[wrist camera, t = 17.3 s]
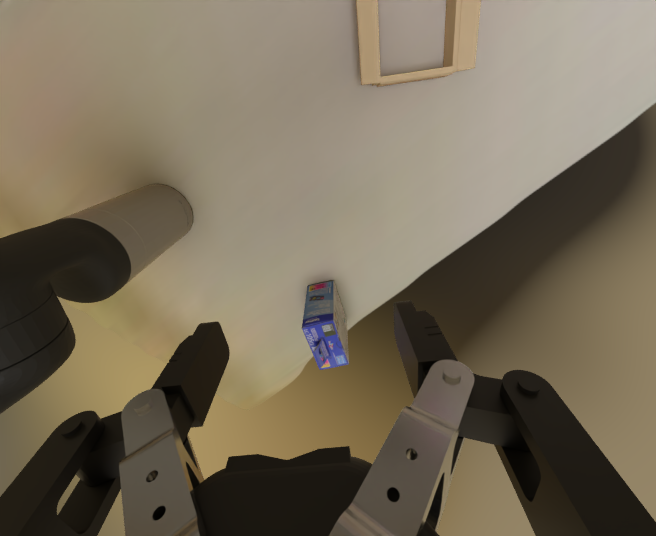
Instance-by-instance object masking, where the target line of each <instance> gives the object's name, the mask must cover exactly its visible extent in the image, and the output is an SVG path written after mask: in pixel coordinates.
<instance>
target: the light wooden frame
mask: <svg viewBox="0 0 656 536" xmlns="http://www.w3.org/2000/svg"><path fill="white" fill-rule="evenodd" d="M480 5H481V0H446V21H445V42H444V63H443V68H436V69H430V70H423V71H416V72H410V73H403V74H396V75H390V76H383V77H380V53H379V26H378V0H356V8H357V24H358V40H359V56H360V72H361V85H365V84H372V86H373V85H377V87H379V86H386V85H393V84H399V83H406V82H413V81H420V80H426V79H433V78H440V77H445V76H448V75H451V74H452V73H453V72H456V71H461V70H467V69H472V68H475V60H476V49H477V38H478V27H479V16H480Z"/></svg>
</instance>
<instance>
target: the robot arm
mask: <svg viewBox="0 0 656 536" xmlns="http://www.w3.org/2000/svg"><path fill="white" fill-rule="evenodd" d="M192 222H193V214H192V210H191V207H190V205H189V203H188V202H187V200H186V199H185V198H184V197H183V196H182V195H181V194H180V193H179V192H178V191H176V190H175V189H173V188H171V187H169V186H165V185H162V184H152V185H148V186H145V187H143V188H140V189H137V190H135V191H132V192H129V193H126V194H124V195H121V196H119V197H116V198H113V199H111V200H108V201H105V202H103V203H100V204H98V205H95V206H92V207H90V208H87V209H84V210H82V211H79V212H77V213H74V214H72V215H69V216H67V217H64V218H61V219H59V220H56V221H53V222H51V223H48V224H45V225H42V226H38V227H35V228H31V229H28V230H24V231H21V232H18V233H15V234H11V235H9V236H6V237H3V238H0V414H1V413H2V412H3V411H5V410H6V409H8V408H9V407H10V406H12V405H13V404H14V403H16V402H17V401H19V400H20V399H22V398H23V397H24V396H26V395H27V394H28V393H30V392H31V391H32V390H34V389H35V388H36V387H38V386H39V385H40V384H41V383H43V382H44V381H45V380H46V379H48V378H49V377H50V376H51V375H52V374H53V373H54V372H55V371H56V370H57V369H58V368H59V367H60V366H62V364H63V363H64V362H65V361H66V360H67V359H68V358H69V356H70V354H71V353H72V351H73V349H74V347H75V334H74V331H73V328H72V325H71V323H70V321H69V319H68V317H67V315H66V313H65V311H64V309H63V308H62V305H61V303H60V302H59V300H58V298H57V296H58V297H61V298H63V299H66V300H70V301H74V302H80V303H93V302H98V301H102V300H104V299H107V298H109V297H110V296H112V295H113V294H115V293H116V292H117V291H118V290H119V289H121V288H122V287H123V286H124V285H125V284H126V283H128V282H129V281H130V280H131V279H132V278H134V277H135V276H136V275H137V274H138V273H140V272H141V271H142V270H143V269H144V268H146V267H147V266H148V265H149V264H150V263H152V262H153V261H154V260H155V259H156V258H158V257H159V256H160V255H161V254H162V253H164V252H165V251H166V250H167V249H168V248H170V247H171V246H172V245H173V244H174V243H176V242H177V241H178V240H179V239H181V238H182V237H183V236H184V235H185V234H186V233H187V232H188V231H189V230H190V228H191V226H192ZM394 330H395V331H394V332H395V339H396V343H397V346H398V349H399V352H400V355H401V359H402V362H403V365H404V368H405V371H406V374H407V377H408V381H409V384H410V387H411V390H412V393H413V396H414V401H413V403H412V405H411V406H410V407H407V406H406V407H404V408H403V410H402V411H401V413H400V415H399V417H398V419H397V420H396V422H395V424H394V426H393V428H392V430H391V432H390V433H389V435H388V437H387V439H386V441H385V443H384V444H383V446H382V448H381V450H380V452H379V454H378V455H377V457H376V459H375V461H374V463H373V465H372V464H371V463H369V462H367V461H365V460H362V459H359V458H356V457H351V454H350V448H349V446H348V447H335V448H324V449H318V450H315V451H312V452H309V453H306V454H304V455H301V456H298V457H295V458H293V459H290V460H283V459H278V458H274V457H269V456H264V455H259V454H256V455H244V456H232V457H229V458H228V461H227V465H226V468H225V469H222V470H220V471H218V472H216V473H215V474H213V475H211V476H210V477H208V478H207V479H206V480H204V478H203V475H202V473H201V470H200V467H199V464H198V461H197V458H196V455H195V452H194V450H193V447H192V444H191V441H190V439H189V436H188V432H189V430H190V428H191V427H201V426H203V423H204V421H205V418H206V415H207V413H208V411H209V408H210V406H211V403H212V401H213V398H214V396H215V393H216V391H217V388H218V385H219V383H220V380H221V378H222V375H223V373H224V370H225V368H226V365H227V363H228V360H229V347H228V344H227V341H226V339H225V336H224V333H223V331H222V328H221V325H220V324H219V322H209V323H201V324H199V326H198V327H197V329H196V330H195V332H194V334H193V335H192V336H188V337H187V338H186V339H185V340H184V341H183V342H182V343H181V344H180V345H179V346H178V348H177V349H176V351H175V352H174V355H173V356H172V357H171V359H170V360H169V363H167V365H166V367H165V368H164V370H163V371H162V373H161V374H160V376H159V377H158V379H157V381H156V382H155V384H154V385H153V387H152V388H151V389H150V390H146V391H144V392H142V393H140V394H138V395H137V396H135V397H134V398H133V399H132V400H130V401H129V402H128V403H127V405H126V406H125V407H124V409H123V411H121V412H118V413H116V414H113V415H110V416H107V417H104V418H102V419H100V418H99V416H98V415H97V414H96V413H95V412H94V411H84V412H81V413H78V414H76V415H74V416H72V417H70V418H69V419H67V420H66V421H64V422H63V423H62V424H61V425H60V426H58V427H57V428H56V429H55V430H54V431H53V433H52V434H51V435H50V436H49V438H48V439H47V440H46V441H45V443H44V444H43V445H42V446H41V447H40V449H39V450H38V451H37V452H36V454H35V455H34V456H33V457H32V459H31V460H30V461H29V462H28V463H27V465H26V466H25V467H24V468H23V470H22V471H21V472H20V473H19V475H18V476H17V477H16V478H15V480H14V481H13V482H12V484H11V485H10V486H9V487H8V488H7V489H6V491H5V492H4V493H3V494H2V496H1V497H0V536H97V535H98V533H99V531H100V529H101V527H102V525H103V523H104V521H105V519H106V517H107V515H108V513H109V511H110V509H111V507H112V505H113V503H114V501H115V499H116V497H117V495H118V493H119V491H120V489H121V493H122V504H123V515H124V526H125V536H439V535H438V534H437V530H438V527H439V523H440V520H441V517H442V514H443V511H444V507H445V504H446V500H447V496H448V492H449V487H450V483H451V480H452V477H453V474H454V471H455V468H456V465H457V462H458V458H459V455H460V452H461V449H462V446H463V443H464V440H465V438H468V439H473V440H477V441H481V442H486V443H490V444H494V445H495V447H496V449H497V452H498V454H499V456H500V458H501V460H502V462H503V465H504V467H505V469H506V471H507V474H508V476H509V478H510V480H511V482H512V484H513V487H514V489H515V491H516V493H517V496H518V498H519V500H520V502H521V504H522V507H523V509H524V511H525V513H526V515H527V518H528V520H529V522H530V524H531V526H532V528H533V531H534V533H535V535H536V536H656V522H655V521H654V519H653V518H652V517H651V516H650V514H649V513H648V512H647V510H646V509H645V508H644V506H643V505H642V504H641V502H640V501H639V500H638V498H637V497H636V496H635V495H634V493H633V492H632V491H631V489H630V488H629V487H628V485H627V484H626V483H625V481H624V480H623V479H622V478H621V476H620V475H619V474H618V472H617V471H616V470H615V469H614V467H613V466H612V464H611V463H610V462H609V461H608V459H607V458H606V457H605V455H604V454H603V453H602V451H601V450H600V449H599V447H598V446H597V445H596V444H595V442H594V441H593V440H592V438H591V437H590V436H589V434H588V433H587V432H586V431H585V429H584V428H583V427H582V425H581V424H580V423H579V421H578V420H577V419H576V417H575V416H574V415H573V414H572V412H571V411H570V410H569V408H568V407H567V406H566V404H565V403H564V402H563V400H562V399H561V398H560V397H559V395H558V394H557V393H556V391H555V390H554V389H553V388H552V386H551V385H550V384H549V383H548V382H547V381H546V380H545V379H543V378H542V377H540V376H538V375H536V374H534V373H531V372H528V371H523V370H513V371H510V372H507V373H506V374H505V375H504V377H503V379H502V380H501V379H495V378H489V377H483V376H479V375H476V374H474V373H472V372H471V371H470V369H469V368H468V367H467V366H465V365H464V364H462V363H460V362H458V361H457V359H456V357H455V355H454V354H453V351H452V350H451V348H450V346H449V344H448V342H447V341H446V339H445V337H444V335H443V334H442V331H441V330H440V328H439V326H438V324H437V322H436V320H435V319H434V317H433V316H431V315H430V314H429V313H427V312H426V311H416V309H415V307H414V305H413V303H412V301H403V302H395V303H394ZM75 474H76V475H77V476H78V477H79V478H80V481H79V482H78V484H77V485H76V487H75V489H74V490H73V492H72V493H71V495H70V497H69V498H68V500H67V501H66V503H65V505H64V506H63V508H62V510H61V511H60V513H59V514H58V516H57V512H56V511H57V505H58V502H59V500H60V498H61V496H62V494H63V493H64V491H65V490H66V488H67V487H68V485H69V484H70V482H71V481H72V479H73V478H74V476H75Z"/></svg>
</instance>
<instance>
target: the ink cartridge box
mask: <svg viewBox="0 0 656 536" xmlns="http://www.w3.org/2000/svg"><path fill="white" fill-rule="evenodd" d="M302 329H303V332H304V334H305V337H306V339H307V341H308V343H309V346H310V348H311V350H312V353H313V355H314V357H315V360H316V362H317V365H318V367H319V369H320V370H322V369H328V368H333V367H338V366H342V365H347V364H349V359H348V340H347V322H346V316H345V313H344V310H343V307H342V304H341V301H340V298H339V295H338V292H337V289H336V286H335V283H334V281H329V282H323V283H319V284H314V285H309V286H308V287H307V295H306V302H305V310H304V317H303V324H302Z"/></svg>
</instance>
